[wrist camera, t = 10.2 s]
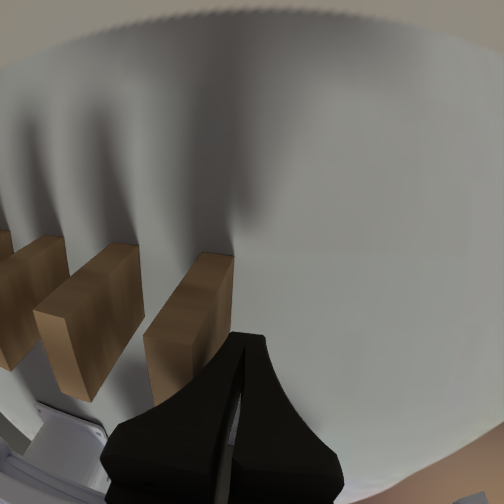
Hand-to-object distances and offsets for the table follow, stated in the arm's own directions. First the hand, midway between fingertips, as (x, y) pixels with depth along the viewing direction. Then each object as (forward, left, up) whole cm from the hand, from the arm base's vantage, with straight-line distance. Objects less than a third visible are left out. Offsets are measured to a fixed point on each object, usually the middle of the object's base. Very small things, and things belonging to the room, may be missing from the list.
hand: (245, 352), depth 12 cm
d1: (0, +2, -4) cm, 5 cm away
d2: (0, +7, -4) cm, 8 cm away
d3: (0, +12, -4) cm, 13 cm away
